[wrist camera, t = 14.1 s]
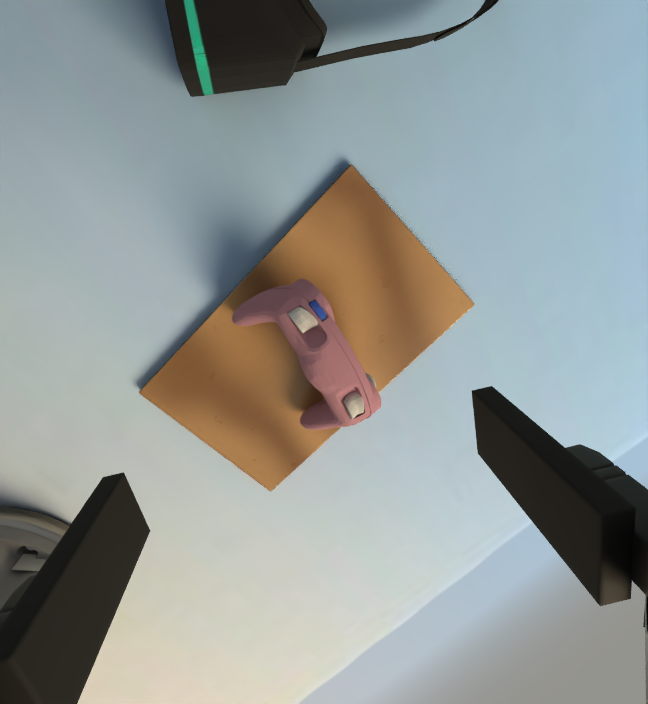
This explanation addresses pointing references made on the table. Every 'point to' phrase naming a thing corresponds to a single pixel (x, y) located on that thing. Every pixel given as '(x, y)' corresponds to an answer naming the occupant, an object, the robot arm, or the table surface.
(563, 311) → the table surface
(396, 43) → the virtual reality headset
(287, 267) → the cork mat
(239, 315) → the video game controller
